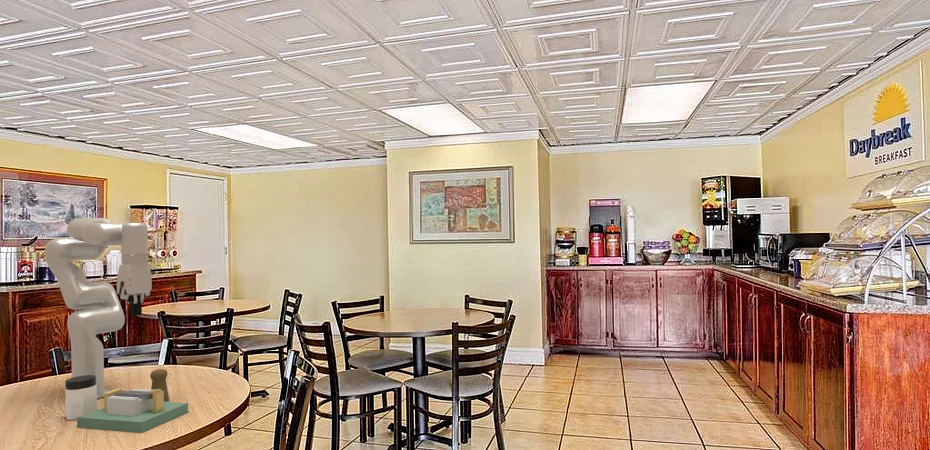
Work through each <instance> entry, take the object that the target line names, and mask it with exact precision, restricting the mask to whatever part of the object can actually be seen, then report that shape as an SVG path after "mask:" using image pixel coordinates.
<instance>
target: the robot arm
mask: <svg viewBox="0 0 930 450" xmlns="http://www.w3.org/2000/svg"><path fill="white" fill-rule="evenodd" d="M66 231H67V234H68V236H69V237H58V238H54V239H51V240H49V241H48V242H47V243H46V245H45V247H44V258H45V262H46V264H47V267H48V268H49V269H50V270H49V271H51V273H52V274H53V276H54V277H55V279H56V281H57V283H58V286H59V290H60V292H61V295H62V298H63V300H64V303H65V305H66V307H68V309H69V310H77V311H73V312H72V313H71V314H70V315H69V316H68V318H67V322H66V323H67V325H66V326H67V329H68V333H69V338H70V339H69V340H70V350H71V353H70V356H71V378H73V377H78V376H85V375H94V376H96V385H97V400H99V399H102V398H104V393H106V392H109V391H110V389H106V388H105V365H104V363H105V362H104V361H105V359H104V358H105V356H104V344H103V343H102V341H101V340H100V339H99V338H98V337H97V335H100V334H105V333H106V334H107V333H113V332H116V331H119V330H121V329H122V328H123V327H124V324H125V320H126V319H125V314H124V310H123V308H122V305H121V302H120V300H119V298H120V299H121V300H126V301H127V303H128V305H129V315H130V316H131V317H132V316H142V315H143V310H142V308H143V306H142V303H144V300H145V298H146V297H148V296H150V295H151V291H152V289H153V288H152V287H153V285H152V284H153V282H152V279H153V278H152V272H151V271H152V270H151V266H150V263H149V260H150V256H149V247H148V245H149V244H148V243H149V242H148V240H149V238H148V237H149V236H148V226H147V224H146V223H143V222H129V223H127V222H113V221H112V220H111V219H109V218H106V217H78V218H75V219H73V220H72V221H70V222H69V223H68V225H67V227H66ZM108 246H121V248H120V249H121V264H119V267H118V269H117V277H116V278H117V279H116V290H115V287H114V286H113V285H112V284H111V283H109V282H108V281H93V282H90V281H88V279H87V277H86V273H85V271H84V270H83V269H82V268H81V267H79V265H77V264H75V263H74V262H72V261H79V260H82V261H83V260H94V259H98V258H100V257H101V256H102V255H103V254H104V252H105V251H106V249H107V248H108ZM118 295H119V296H120V297H119V296H118Z"/></svg>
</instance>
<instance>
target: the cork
mask: <svg viewBox="0 0 930 450" xmlns="http://www.w3.org/2000/svg"><path fill="white" fill-rule="evenodd" d="M167 377H168V370H166V369H165V368H159V369H158V368H157V369H154V370H152V371H151V373H150V375H149V378H150V379H151V388H150V389H151V390H156V389H161V391H164V402H170V396H169V389H168V385H167Z"/></svg>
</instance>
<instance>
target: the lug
mask: <svg viewBox="0 0 930 450" xmlns="http://www.w3.org/2000/svg"><path fill="white" fill-rule="evenodd" d="M151 394H153V413H158V412H161V411H163V410H164V391H161V389H156V390H154V391H151Z"/></svg>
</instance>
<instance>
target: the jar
mask: <svg viewBox="0 0 930 450" xmlns="http://www.w3.org/2000/svg"><path fill="white" fill-rule="evenodd" d="M64 381H65V382H64V384H65V386H64V396H65V397H64V399H65V400H64V403H65V404H64V405H65V408H64V409H65V413H64V415H65V418H66V420H67V421H73V420H74V421H75V420H76V421H77V417H79V416H82V415H85V414H88V413H90V412H93V411H96V410H98V399H97V385H96V376H94V375H85V376H78V377H73V378H72V377H70V378H67V379H66V380H64Z"/></svg>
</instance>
